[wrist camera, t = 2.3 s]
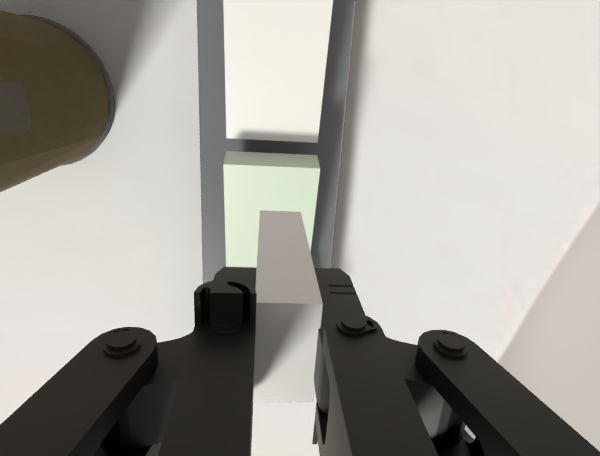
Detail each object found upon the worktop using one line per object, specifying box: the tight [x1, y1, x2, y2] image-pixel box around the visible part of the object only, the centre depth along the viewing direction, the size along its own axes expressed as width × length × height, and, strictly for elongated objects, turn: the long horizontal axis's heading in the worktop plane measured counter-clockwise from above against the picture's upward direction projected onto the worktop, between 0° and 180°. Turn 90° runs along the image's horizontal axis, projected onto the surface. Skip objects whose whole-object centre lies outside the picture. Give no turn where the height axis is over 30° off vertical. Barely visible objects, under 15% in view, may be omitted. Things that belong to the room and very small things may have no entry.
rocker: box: [223, 0, 333, 143], centre depth 26 cm, size 6×9×2 cm, turn 176°
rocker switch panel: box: [197, 0, 356, 284], centre depth 32 cm, size 10×34×5 cm, turn 177°
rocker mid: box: [223, 151, 320, 268], centre depth 29 cm, size 6×9×2 cm, turn 177°
